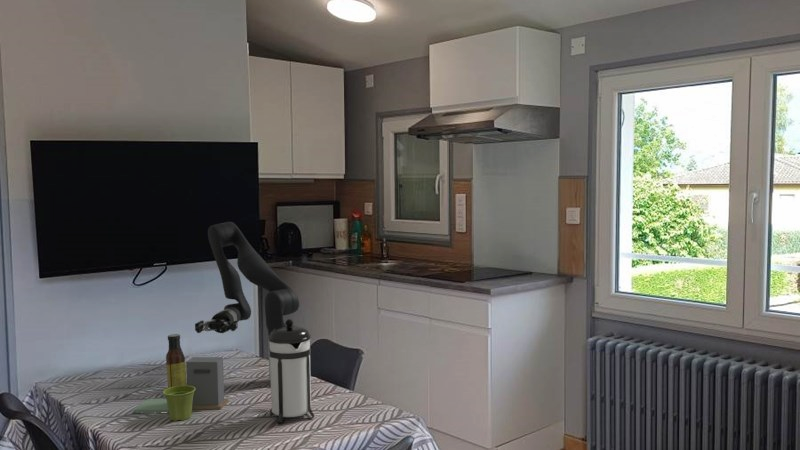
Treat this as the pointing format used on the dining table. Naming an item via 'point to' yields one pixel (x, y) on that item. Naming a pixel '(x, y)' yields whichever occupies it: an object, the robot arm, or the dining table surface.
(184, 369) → the sauce bottle
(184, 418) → the plant pot
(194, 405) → the charcoal unit
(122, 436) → the dining table surface
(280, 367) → the coffee press
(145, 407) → the green mat
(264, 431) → the dining table surface
